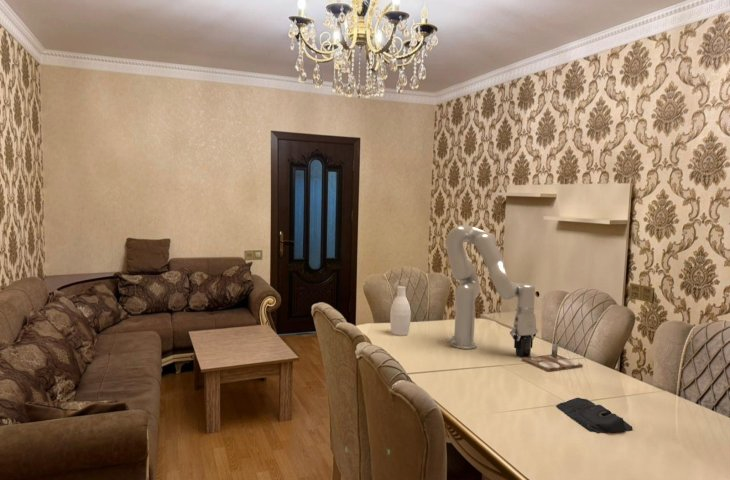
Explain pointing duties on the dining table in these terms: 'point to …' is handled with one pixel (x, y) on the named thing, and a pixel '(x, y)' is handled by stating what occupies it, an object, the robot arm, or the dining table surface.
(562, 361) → the board
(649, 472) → the dining table surface
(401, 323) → the bottle
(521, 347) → the supplement bottle
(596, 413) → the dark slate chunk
